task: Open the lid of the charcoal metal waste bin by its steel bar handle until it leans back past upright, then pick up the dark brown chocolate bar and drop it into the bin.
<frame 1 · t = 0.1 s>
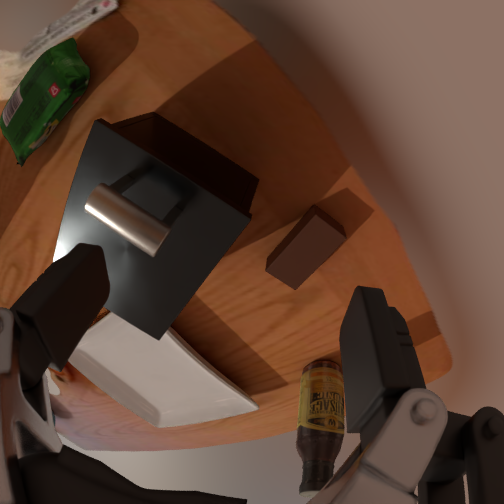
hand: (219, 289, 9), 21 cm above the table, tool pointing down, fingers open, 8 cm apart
waste bin: (170, 200, 31), on the table
square plate: (153, 366, 48), on the table
sauce bottle: (320, 369, 43), on the table
chocolate bar: (304, 242, 32), on the table
bin lid: (114, 263, 20), point 13 cm above the table, hinge at 0.0°
snack package: (54, 101, 26), on the table
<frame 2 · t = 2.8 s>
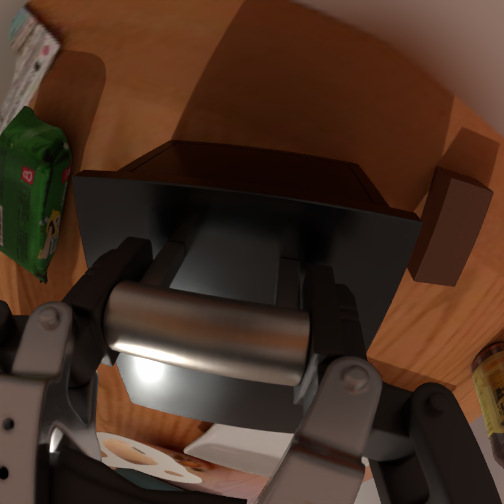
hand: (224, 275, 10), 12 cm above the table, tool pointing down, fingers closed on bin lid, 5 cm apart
waste bin: (251, 245, 23), on the table
square plate: (301, 431, 38), on the table
casserole dish: (159, 483, 73), on the table
sauce bottle: (487, 355, 27), on the table
chocolate bar: (441, 222, 20), on the table
bin lid: (216, 387, 12), point 13 cm above the table, hinge at -0.1°, touching gripper
snack package: (46, 191, 22), on the table
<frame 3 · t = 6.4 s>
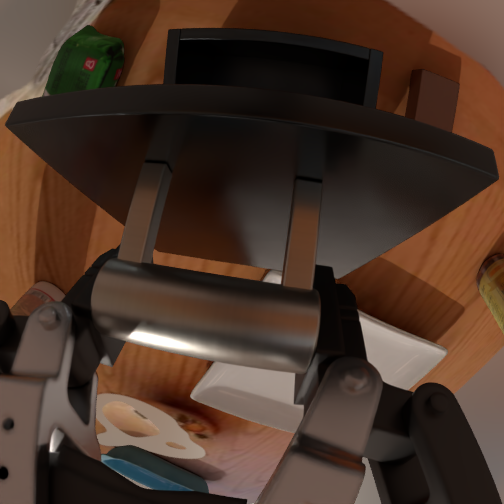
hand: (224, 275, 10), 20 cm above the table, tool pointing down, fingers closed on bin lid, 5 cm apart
waste bin: (270, 130, 26), on the table
square plate: (313, 365, 40), on the table
casserole dish: (159, 464, 73), on the table
sauce bottle: (490, 271, 30), on the table
chocolate bar: (424, 115, 23), on the table
bin lid: (233, 276, 12), point 18 cm above the table, hinge at 47.3°, touching gripper
snack package: (90, 100, 26), on the table
fruit juice: (55, 302, 41), on the table
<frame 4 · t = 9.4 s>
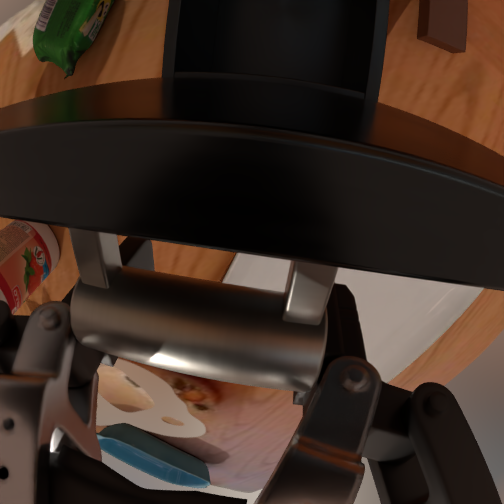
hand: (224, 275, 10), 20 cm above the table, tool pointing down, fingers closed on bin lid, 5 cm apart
waste bin: (283, 12, 20), on the table
square plate: (334, 303, 35), on the table
casserole dish: (156, 446, 70), on the table
chocolate bar: (437, 11, 17), on the table
bin lid: (240, 167, 10), point 18 cm above the table, hinge at 91.3°, touching gripper
snack package: (96, 3, 19), on the table
fruit juice: (39, 240, 36), on the table
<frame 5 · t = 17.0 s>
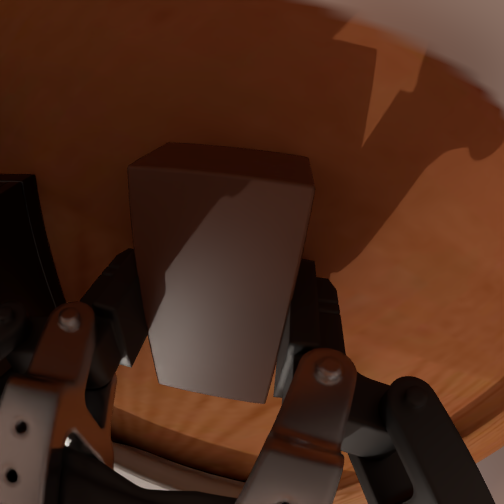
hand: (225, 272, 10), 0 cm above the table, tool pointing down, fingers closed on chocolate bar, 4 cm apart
square plate: (186, 485, 28), on the table
chocolate bar: (227, 267, 10), on the table, touching gripper
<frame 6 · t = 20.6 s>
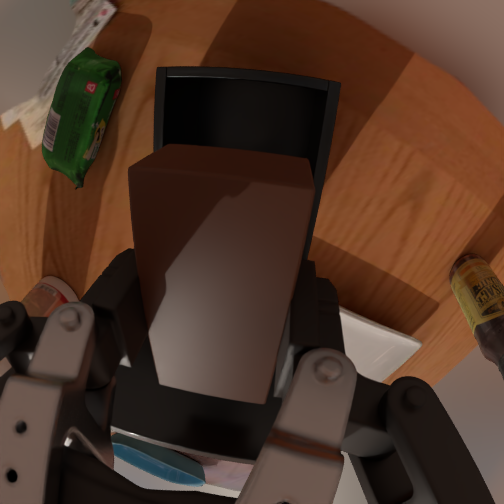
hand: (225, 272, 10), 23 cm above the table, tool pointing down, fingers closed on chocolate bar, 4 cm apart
waste bin: (251, 143, 29), on the table
square plate: (296, 353, 45), on the table
casserole dish: (158, 450, 79), on the table
sauce bottle: (463, 270, 34), on the table
chocolate bar: (227, 268, 10), point 22 cm above the table, touching gripper
bin lid: (204, 353, 19), point 18 cm above the table, hinge at 91.7°
snack package: (92, 115, 29), on the table
fruit juice: (61, 295, 46), on the table
when the fingers open (9 cm above the table, at t = 24.3 s): chocolate bar drops 8 cm, resting on waste bin.
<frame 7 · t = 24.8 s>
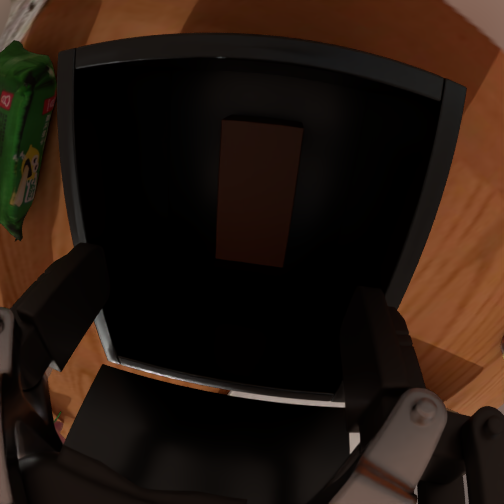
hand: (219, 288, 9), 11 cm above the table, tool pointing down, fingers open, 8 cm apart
waste bin: (258, 179, 18), on the table
square plate: (310, 425, 34), on the table
chocolate bar: (259, 183, 18), point 1 cm above the table, touching waste bin
lily: (55, 411, 48), on the table
snack package: (28, 136, 18), on the table
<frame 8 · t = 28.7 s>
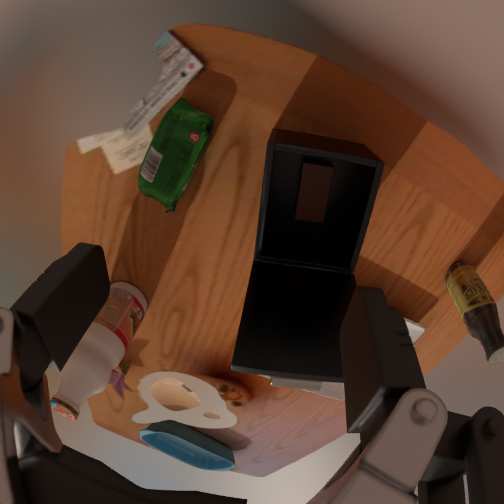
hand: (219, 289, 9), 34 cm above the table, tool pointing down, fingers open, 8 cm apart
waste bin: (311, 185, 42), on the table
square plate: (330, 338, 57), on the table
casserole dish: (191, 437, 92), on the table
sauce bottle: (456, 273, 46), on the table
chocolate bar: (312, 187, 41), point 1 cm above the table, touching waste bin
bin lid: (300, 329, 32), point 18 cm above the table, hinge at 91.7°
lily: (121, 363, 71), on the table
snack package: (180, 152, 42), on the table
fruit juice: (128, 298, 58), on the table
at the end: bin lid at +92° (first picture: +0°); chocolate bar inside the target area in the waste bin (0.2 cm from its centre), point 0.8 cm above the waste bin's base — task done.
